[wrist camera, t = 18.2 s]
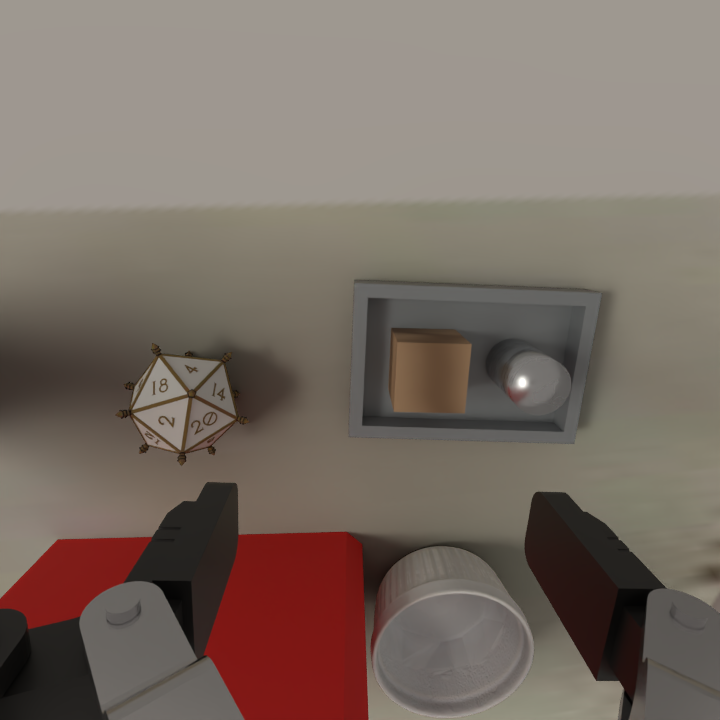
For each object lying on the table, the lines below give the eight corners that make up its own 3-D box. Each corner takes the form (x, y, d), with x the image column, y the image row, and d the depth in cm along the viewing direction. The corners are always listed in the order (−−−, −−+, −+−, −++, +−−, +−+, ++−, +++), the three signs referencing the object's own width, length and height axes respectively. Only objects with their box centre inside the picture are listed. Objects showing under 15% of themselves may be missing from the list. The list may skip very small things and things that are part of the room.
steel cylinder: (482, 385, 36) (507, 414, 30) (488, 337, 35) (516, 357, 29) (531, 387, 36) (565, 416, 30) (539, 339, 35) (576, 360, 29)
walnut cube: (388, 388, 36) (393, 411, 31) (391, 327, 35) (397, 342, 30) (449, 389, 36) (464, 413, 31) (455, 329, 35) (471, 344, 30)
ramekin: (532, 563, 42) (567, 626, 35) (463, 663, 45) (483, 739, 38) (407, 511, 40) (418, 566, 33) (344, 619, 43) (343, 690, 36)
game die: (222, 351, 39) (245, 317, 31) (246, 445, 38) (276, 438, 30) (108, 372, 35) (97, 340, 26) (131, 478, 34) (128, 482, 25)
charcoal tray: (348, 424, 37) (348, 437, 35) (354, 279, 34) (354, 283, 32) (559, 430, 38) (574, 443, 35) (584, 289, 35) (602, 292, 32)
